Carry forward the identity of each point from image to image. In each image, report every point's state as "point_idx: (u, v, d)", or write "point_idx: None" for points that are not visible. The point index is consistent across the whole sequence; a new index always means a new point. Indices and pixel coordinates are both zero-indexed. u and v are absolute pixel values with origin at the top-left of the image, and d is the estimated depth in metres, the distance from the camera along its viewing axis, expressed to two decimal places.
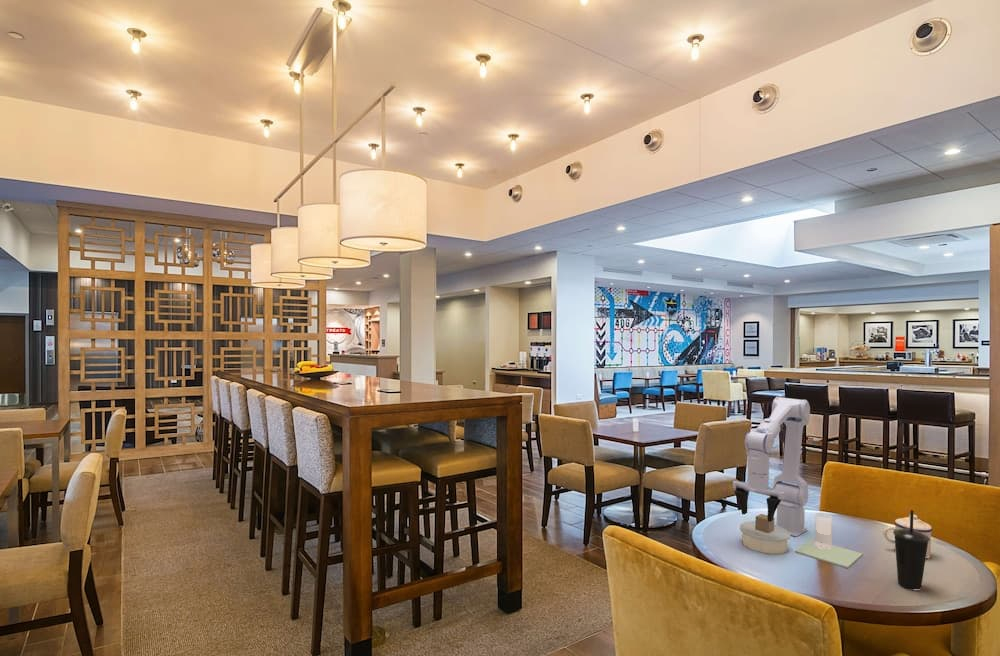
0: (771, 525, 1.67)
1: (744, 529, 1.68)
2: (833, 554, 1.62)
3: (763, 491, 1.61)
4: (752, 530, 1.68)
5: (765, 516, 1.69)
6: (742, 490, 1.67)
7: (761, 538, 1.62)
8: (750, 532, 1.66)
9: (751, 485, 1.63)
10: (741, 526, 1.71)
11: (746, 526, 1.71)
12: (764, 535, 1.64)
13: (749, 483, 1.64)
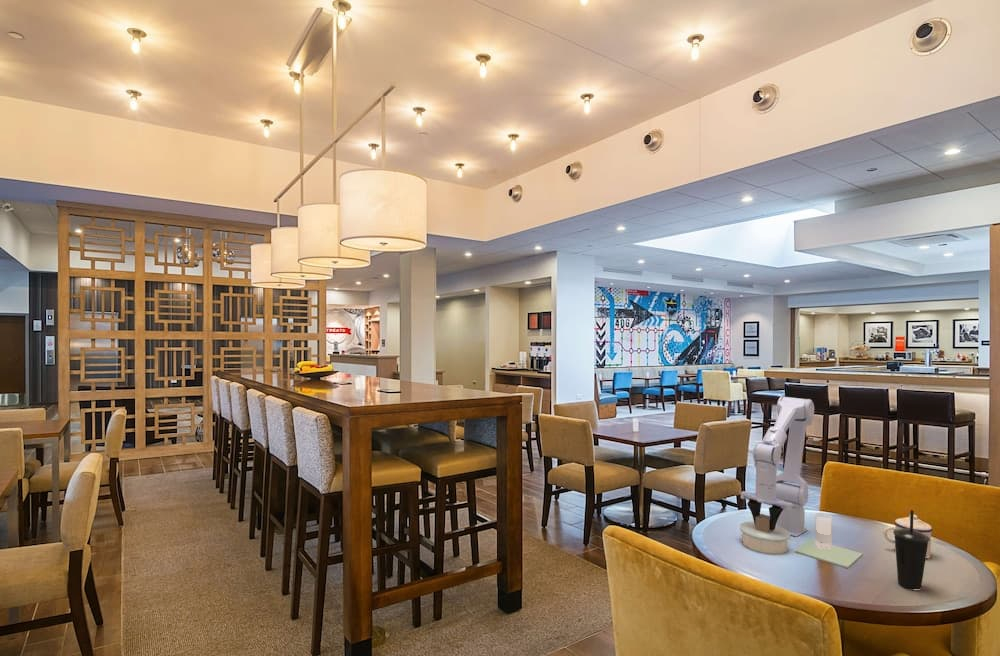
0: None
1: (744, 529, 1.68)
2: (833, 554, 1.62)
3: (771, 502, 1.65)
4: (752, 530, 1.68)
5: (765, 516, 1.69)
6: (750, 501, 1.71)
7: (761, 538, 1.62)
8: (750, 532, 1.66)
9: (759, 496, 1.67)
10: (741, 526, 1.71)
11: (746, 526, 1.71)
12: (764, 535, 1.64)
13: (757, 494, 1.68)
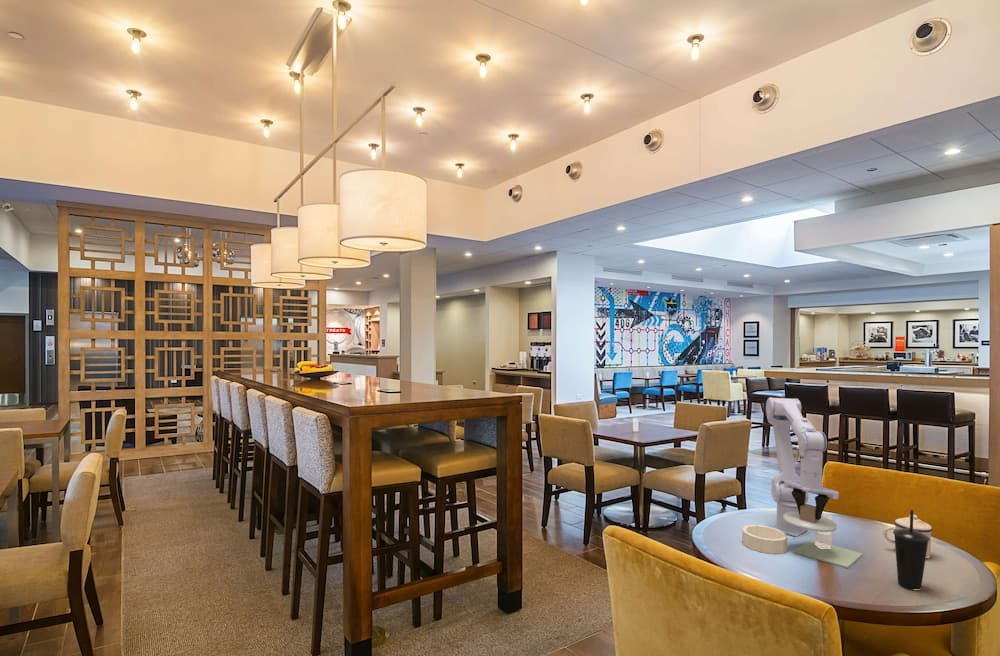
0: None
1: (788, 519, 1.65)
2: (833, 554, 1.62)
3: (817, 491, 1.61)
4: (797, 520, 1.64)
5: (810, 506, 1.65)
6: (794, 490, 1.67)
7: (807, 528, 1.59)
8: (795, 522, 1.62)
9: (804, 485, 1.63)
10: (785, 516, 1.67)
11: (790, 516, 1.67)
12: (810, 525, 1.60)
13: (802, 483, 1.64)
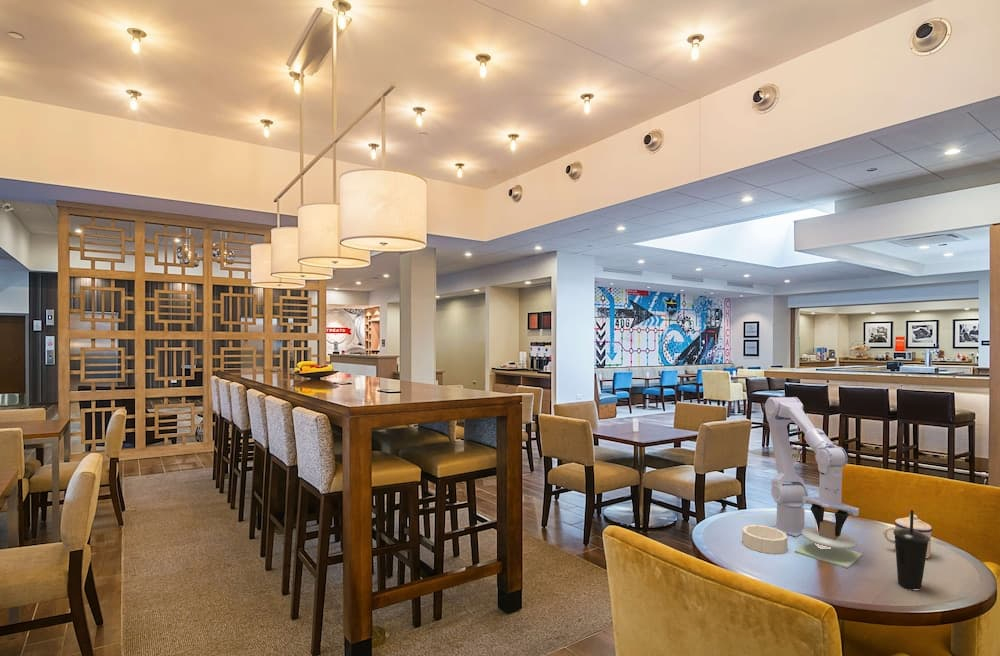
0: None
1: (808, 535, 1.63)
2: (833, 554, 1.62)
3: (837, 507, 1.60)
4: (817, 536, 1.62)
5: (829, 522, 1.63)
6: (813, 505, 1.66)
7: (827, 545, 1.57)
8: (815, 538, 1.61)
9: (824, 501, 1.62)
10: (804, 532, 1.65)
11: (809, 532, 1.66)
12: (830, 542, 1.58)
13: (821, 499, 1.63)
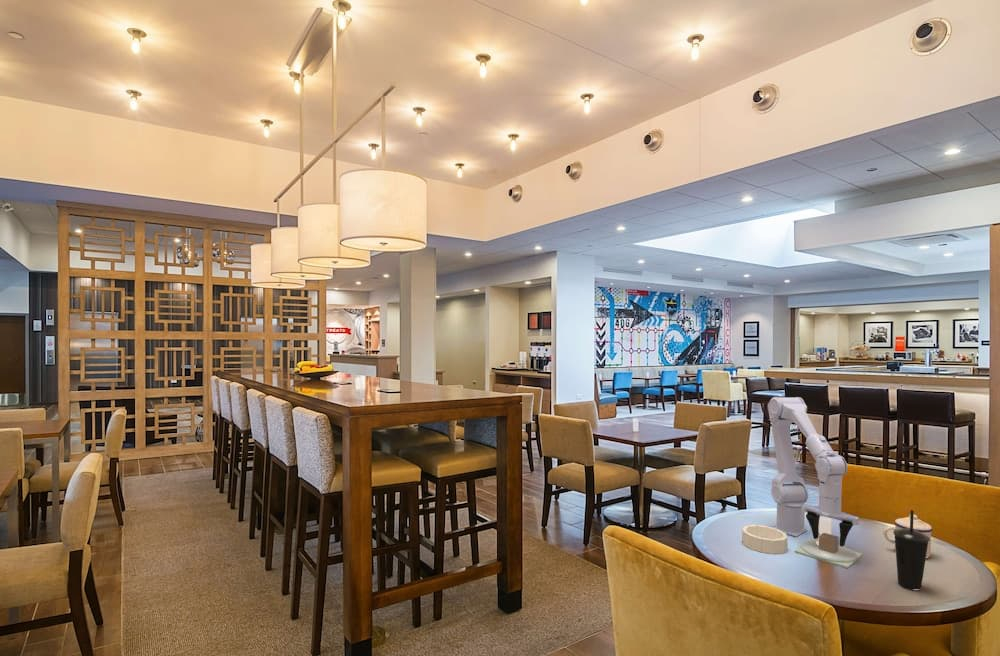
0: (835, 545, 1.61)
1: (807, 549, 1.63)
2: None
3: (836, 516, 1.60)
4: (816, 550, 1.62)
5: (829, 535, 1.63)
6: (813, 514, 1.66)
7: (827, 559, 1.57)
8: (814, 552, 1.61)
9: (823, 509, 1.62)
10: (803, 545, 1.65)
11: (808, 545, 1.66)
12: (830, 556, 1.59)
13: (821, 507, 1.63)
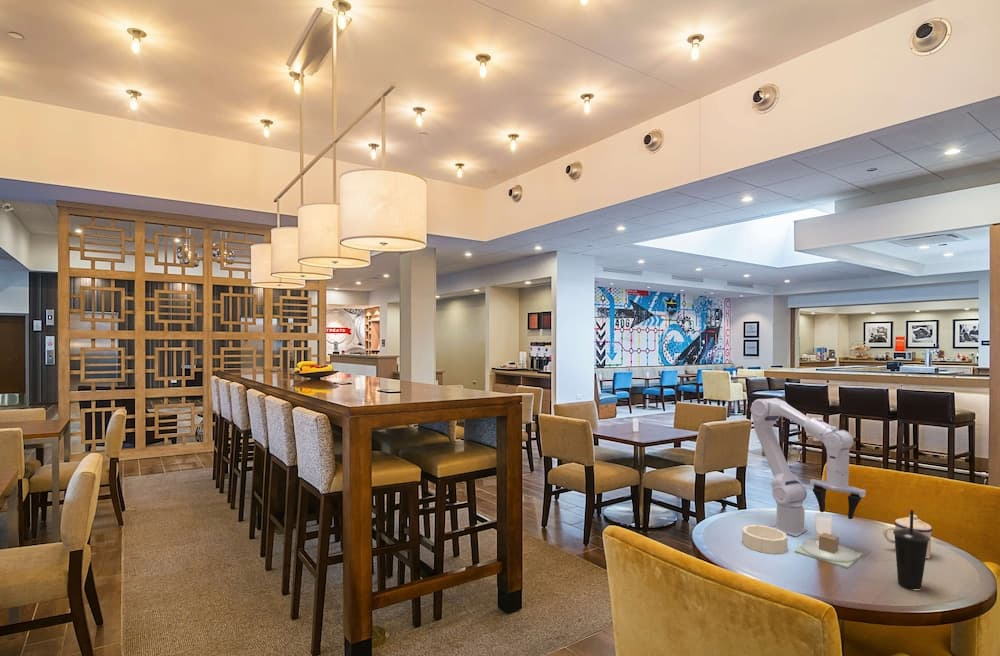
0: (835, 545, 1.61)
1: (807, 549, 1.63)
2: None
3: (844, 489, 1.64)
4: (816, 550, 1.62)
5: (829, 535, 1.63)
6: (820, 488, 1.70)
7: (827, 559, 1.57)
8: (814, 552, 1.61)
9: (831, 483, 1.66)
10: (803, 545, 1.65)
11: (808, 545, 1.66)
12: (830, 556, 1.59)
13: (829, 481, 1.66)
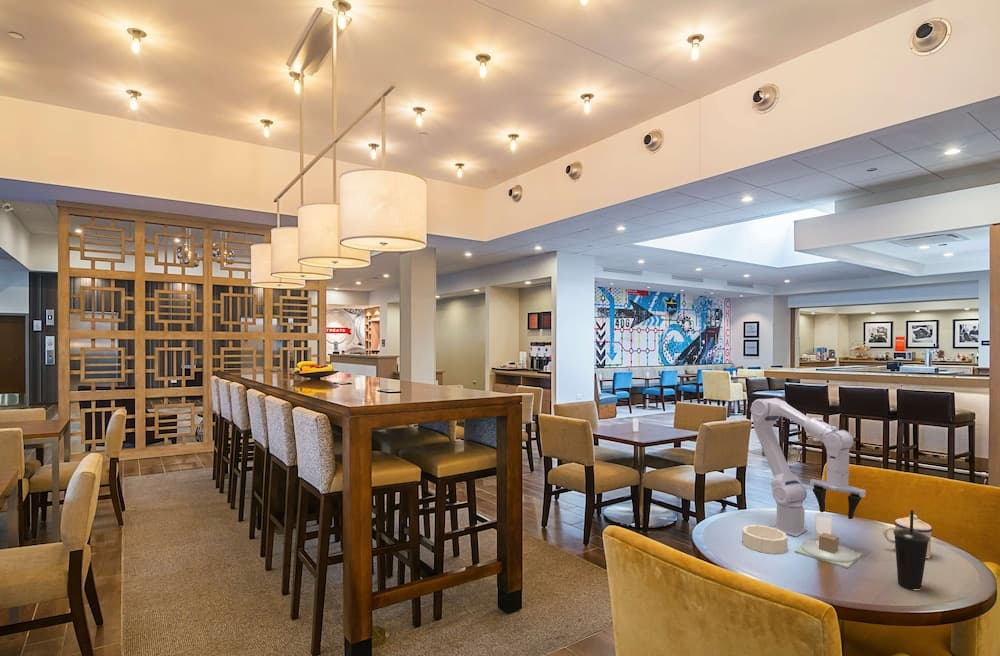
0: (835, 545, 1.61)
1: (807, 549, 1.63)
2: None
3: (844, 489, 1.64)
4: (816, 550, 1.62)
5: (829, 535, 1.63)
6: (820, 488, 1.70)
7: (827, 559, 1.57)
8: (814, 552, 1.61)
9: (831, 483, 1.66)
10: (803, 545, 1.65)
11: (808, 545, 1.66)
12: (830, 556, 1.59)
13: (829, 481, 1.66)
